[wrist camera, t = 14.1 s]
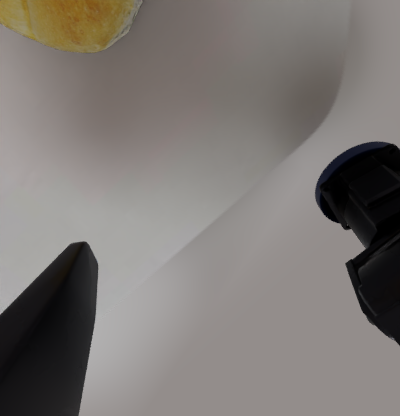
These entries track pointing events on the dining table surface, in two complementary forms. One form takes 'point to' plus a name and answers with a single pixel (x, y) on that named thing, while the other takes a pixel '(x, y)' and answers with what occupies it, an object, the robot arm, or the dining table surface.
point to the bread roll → (70, 22)
